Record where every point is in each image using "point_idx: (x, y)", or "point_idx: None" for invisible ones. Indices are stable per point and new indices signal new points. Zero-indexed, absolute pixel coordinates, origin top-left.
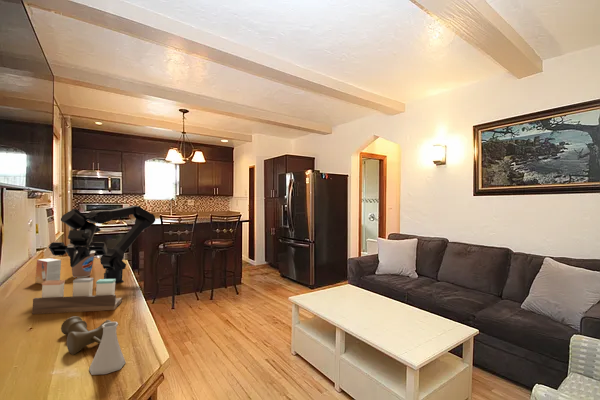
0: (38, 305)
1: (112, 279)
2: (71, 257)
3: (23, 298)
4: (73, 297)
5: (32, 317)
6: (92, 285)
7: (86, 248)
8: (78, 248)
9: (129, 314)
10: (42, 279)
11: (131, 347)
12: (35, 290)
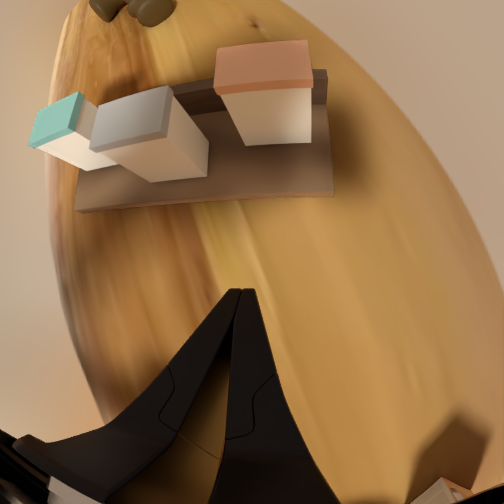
0: None
1: (36, 132)
2: (255, 374)
3: (465, 311)
4: (177, 85)
5: None
6: (115, 158)
7: (22, 441)
8: (105, 480)
9: None
10: (459, 492)
11: (86, 19)
12: (460, 419)
